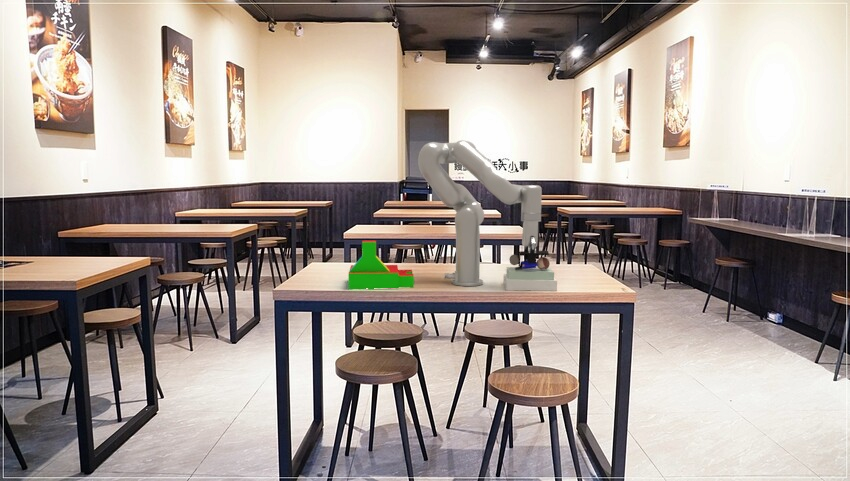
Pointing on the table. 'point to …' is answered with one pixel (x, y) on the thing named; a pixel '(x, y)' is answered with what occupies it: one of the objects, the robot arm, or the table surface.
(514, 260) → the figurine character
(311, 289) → the table surface
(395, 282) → the building blocks toy
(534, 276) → the pale green stepped box
